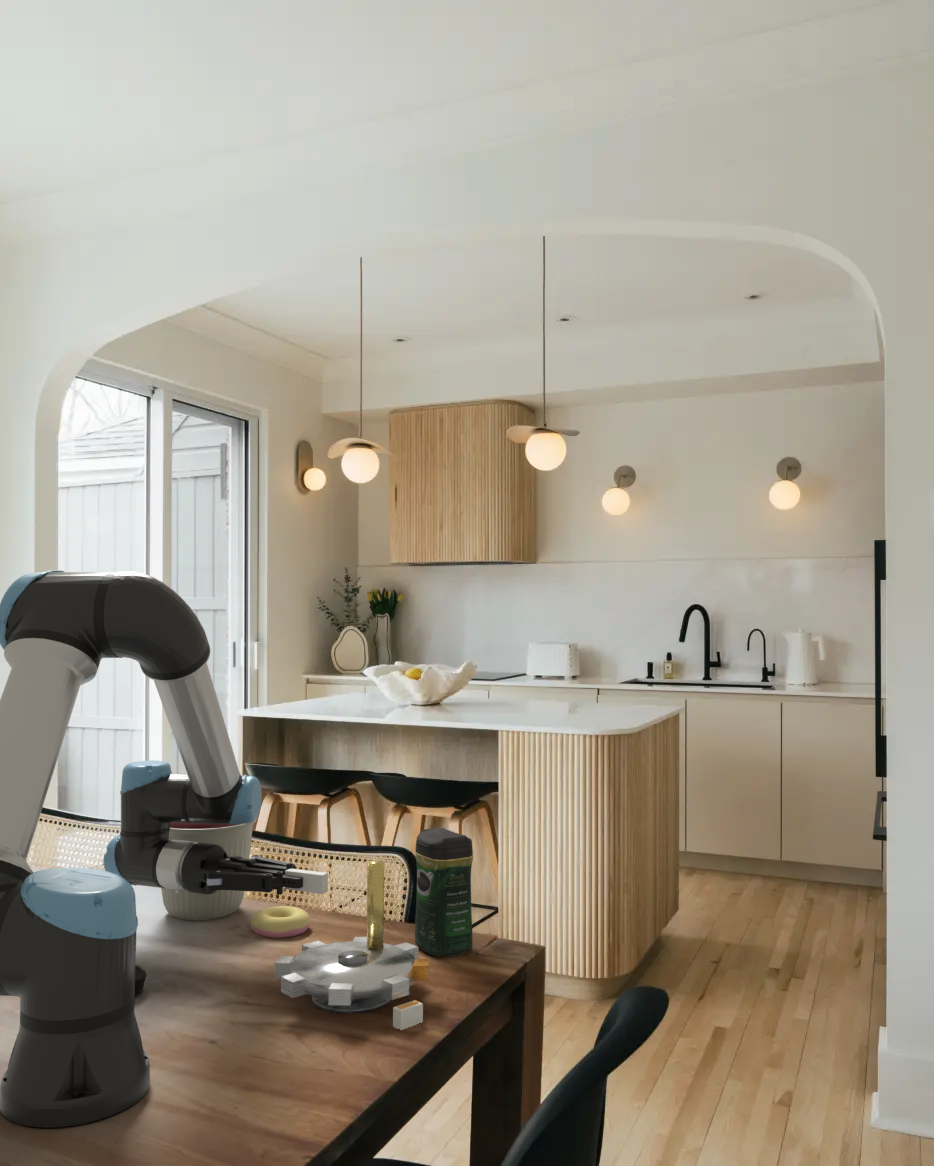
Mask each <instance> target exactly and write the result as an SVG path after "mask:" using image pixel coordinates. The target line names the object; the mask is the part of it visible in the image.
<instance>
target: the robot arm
mask: <svg viewBox="0 0 934 1166" xmlns="http://www.w3.org/2000/svg"><path fill="white" fill-rule="evenodd" d="M0 646H1V648H2V650H3V651H4V652H3V656H4V659H5V661H6V662H7V663H8V665H9V667H10V668H11V669H10V672H9V674H8V677H7V680H6V683H5V686H4V689H3V690H2V694H1V697H0V997H1V996H6V997H8V996H9V997H18V998H19V1028H18V1033H17V1035H16V1039H15V1042H14V1045H13V1047H12V1050H11V1053H10V1057H9V1061H8V1065H7V1070H6V1071H5V1072H4V1074H3V1077H2V1079H1V1081H0V1113H1V1114H2V1115H3V1117H4V1118H5V1119H7V1120H9V1121H11V1122H12V1123H15V1124H19V1125H23V1126H27V1127H33V1128H62V1127H63V1128H64V1127H70V1126H71V1127H72V1126H77V1125H83V1124H87V1123H88V1124H89V1123H92V1122H96V1121H99V1120H102V1119H105V1118H109V1117H111V1116H114V1115H117V1114H118V1113H120V1112H122V1111H124V1110H126V1109H128V1108H130V1107H132V1106H133V1105H135V1104H136V1103H137V1102H138V1101H140V1100H141V1099H142V1098H143V1097H144V1096H145V1094H146V1093H147V1091H148V1090H149V1088H150V1084H151V1082H150V1079H151V1077H150V1076H151V1075H150V1074H151V1064H150V1063H151V1062H150V1058H149V1055H148V1054H147V1052H146V1051H145V1050H144V1047H143V1042H142V1035H141V1032H140V1028H139V1026H138V1025H139V1024H138V1022H137V1018H136V1013H135V998H136V997H135V965H137V963H136V962H137V961H136V960H137V959H136V957H137V930H138V926H139V922H138V921H139V919H138V916H137V903H136V893H135V890H134V888H133V886H141V887H142V886H143V887H149V888H150V887H151V888H160V889H161V888H166V889H175V890H176V893H181V892H182V891H189V892H193V893H200V894H212V893H214V892H216V891H217V890H233V891H244V892H253V893H254V892H256V893H257V892H258V893H259V892H260V893H268V894H269V893H272V892H273V890H276V896H277V895H278V896H279V895H284V890H287V891H289V890H291V891H295V892H296V891H299V892H303V893H313V894H319V895H320V894H321V895H323V894H325V893H327V892H328V891H329V873H328V872H324V871H317V870H316V871H315V870H309V869H308V870H307V869H301V868H300V869H299V868H296V864H294V863H293V862H291V861H290V862H287V861H286V862H285V861H281V860H277V859H272V858H267V857H263V856H262V855H259V854H253V855H251V858H249V859H245V858H242V857H240V856H230V857H228V856H227V854H226V852H225V850H224V849H223V848H222V847H221V846H220V845H217V844H208V843H198V842H193V841H183V840H173V839H172V840H171V839H169V831H170V823H206V824H229V825H232V824H248V823H252V822H253V821H255V820H256V818H257V819H258V816H259V814H260V811H261V807H262V797H263V796H262V795H263V793H262V791H263V790H262V785H261V781H260V780H259V778H257V777H256V776H251V775H247V774H243V775H241V772H240V770H239V766H238V763H237V760H236V755H235V753H234V750H233V745H232V743H231V739H230V737H229V733H228V729H227V726H226V722H225V720H224V717H223V712H222V709H221V707H220V702H219V700H218V696H217V693H216V689H215V686H214V684H213V683H214V682H213V679H212V677H211V673H210V669H209V666H208V661H209V659H210V656H211V647H210V644H209V640H208V637H207V634H206V630H205V629H204V626H203V625H202V623H201V621H200V619H199V618H198V616H197V614H195V612H194V611H193V609H192V607H190V606H189V604H187V602H186V600H184V599H183V597H181V596H180V595H179V594H178V593H177V592H176V591H175V590H174V589H172V588H171V587H170V586H168V585H167V584H165V583H164V582H162V581H161V580H159V579H157V578H155V577H154V576H152V575H149V574H146V573H143V572H140V571H139V572H138V571H131V570H120V571H70V572H69V571H63V570H58V569H57V570H55V569H52V570H51V569H50V570H46V571H39V572H38V571H36V572H29V573H27V574H23V575H22V576H20V577H18V578H17V579H15V580H14V581H13V583H11V584H10V585H9V587H8V588H7V589H6V591H5V593H4V594H3V596H2V598H1V601H0ZM116 658H117V659H122V658H127V659H132V660H134V661H136V662H137V663H138V665H139V666H140V669H141V671H142V673H143V675H145V677H147V678H148V679H150V680H153V681H154V685H155V688H156V690H157V693H158V696H159V699H160V702H161V704H162V708H163V709H164V712H165V715H166V718H167V721H168V724H169V727H170V729H171V731H172V734H173V738H174V740H175V744H176V746H177V748H178V751H179V754H180V756H181V759H182V760H181V761H182V763H183V765H184V768H185V770H186V773H187V774H173V773H172V767H171V764H170V762H168V761H164V760H140V761H139V760H138V761H134V762H129V763H127V764H126V765H125V766H124V767H123V769H122V773H121V786H120V791H119V793H120V832H119V834H118V835H117V836H115V837H113V838H112V839H111V840H110V841H109V842H108V844H107V846H106V852H105V853H104V855H103V859H102V860H103V861H102V862H103V868H104V870H103V869H98V868H92V867H81V866H80V867H79V866H73V867H71V866H70V867H67V868H65V867H51V868H45V869H40V870H38V871H35V872H34V871H33V870H32V868H31V867H30V865H29V864H28V862H27V861H28V860H27V858H28V856H29V855H28V854H29V852H30V850H31V849H30V848H31V845H32V841H33V839H34V836H35V832H36V829H37V825H38V823H39V820H40V817H41V813H42V810H43V806H44V803H45V799H46V798H47V794H48V791H49V787H50V783H51V781H52V778H53V774H54V771H55V768H56V765H57V761H58V759H59V755H60V751H61V748H62V745H63V743H64V740H65V736H66V733H67V729H68V726H69V723H70V719H71V717H72V713H73V709H74V707H75V703H76V700H77V697H78V694H79V691H80V687H81V686H83V685H84V684H85V685H86V684H87V683H90V682H91V681H93V680H94V679H95V677H96V676H97V673H98V670H99V667H100V664H101V661H102V659H116ZM256 821H257V820H256Z"/></svg>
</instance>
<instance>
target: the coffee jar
mask: <svg viewBox="0 0 934 1166" xmlns="http://www.w3.org/2000/svg"><path fill="white" fill-rule="evenodd" d="M473 850H474V849H473V842H472V839H471V838H469V837H468V836H467V835H465V834H461V833H457V832H456V831H455V832H454V831H452V830H450V829H446V828H445V827H435V828H434V827H433V828H425V829H422V830H421V832H419V833H418V835H417V836H416V840H415V854H414V855H415V861H416V862H415V863H416V905H415V921H414V922H415V924H414V942H415V943H414V944H415V946H417V947H418V949H420V950H422V951H425V952H426V953H428V954H430V955H432V956H436V957H438V956H439V957H440V956H447V957H448V956H449V957H457V956H456V955H458V956H462V955H463V954H465V953H467V952H469V951H471V950H472V948H473V943H474V942H473V940H474V939H473V915H472V913H473V912H472V866H473V860H474V855H473V854H474V853H473Z"/></svg>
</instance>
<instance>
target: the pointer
mask: <svg viewBox="0 0 934 1166" xmlns="http://www.w3.org/2000/svg"><path fill="white" fill-rule="evenodd" d="M422 1022H423V1023H424V1004H423V1003H422V1002H420V1001H418V1000H416V999H415V1000H411V1001H409V1002H405V1003H402V1004H399V1005H396V1006H393V1007H392V1027H393V1028H395V1029H397V1030H399V1029H400V1030H399V1031H403V1030H407V1029H409V1028H412V1027H414V1025H415V1026H418V1025H420V1024H419V1023H421V1024H423V1023H422ZM417 1024H418V1025H417ZM411 1026H412V1027H411ZM408 1027H409V1028H408Z"/></svg>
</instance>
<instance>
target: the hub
mask: <svg viewBox="0 0 934 1166" xmlns="http://www.w3.org/2000/svg"><path fill="white" fill-rule="evenodd" d="M392 1001H393V1000H391V999H389V998H386V997H384V996H377V997H371V998H363V999H353V1001H352V1003H351V1006H350V1005H328V1003H329V998H322V997H316V996H312V995H311V1003H312V1004H313V1005H315V1006H314V1007H316V1008H317V1009H319V1010H321V1009H323V1010H322V1011H324V1010H326V1011H325V1012H327V1011H331V1012H336V1013H335V1014H339V1013H346V1014H345V1015H348V1014H347V1013H354V1014H355V1013H358V1014H364V1013H369V1012H374V1011H377V1010H381V1009H383V1008H385V1007H387V1006H388V1005H390V1004H391V1002H392ZM331 1012H330V1013H331ZM354 1014H353V1015H354ZM355 1015H356V1014H355Z"/></svg>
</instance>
